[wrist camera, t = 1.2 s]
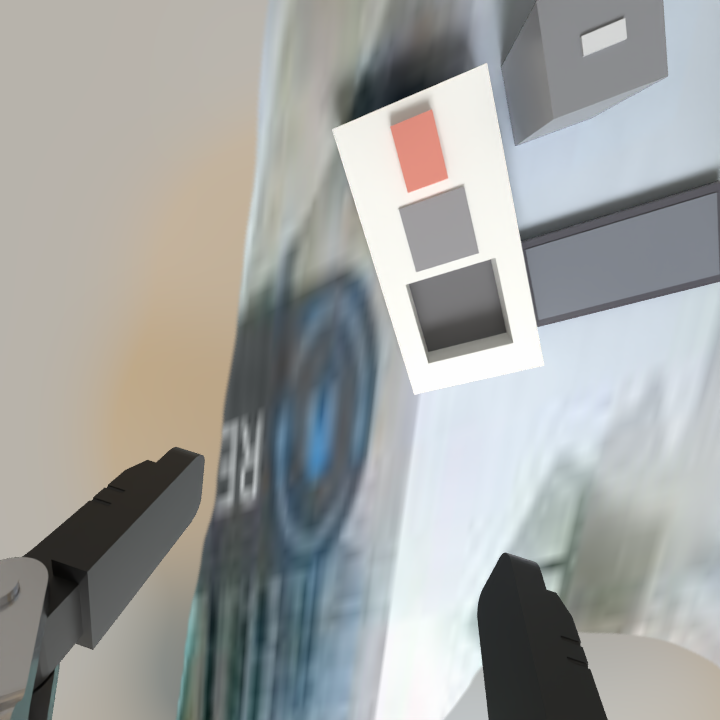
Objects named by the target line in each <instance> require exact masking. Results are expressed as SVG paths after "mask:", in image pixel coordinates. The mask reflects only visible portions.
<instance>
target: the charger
mask: <svg viewBox="0 0 720 720" xmlns="http://www.w3.org/2000/svg"><path fill="white" fill-rule="evenodd" d="M501 70H502V75H503V81H504V86H505V92H506V97H507V103H508V109H509V114H510V120H511V125H512V131H513V136H514V142H515V146H517V145H520V144H523V143H525V142H528V141H531V140H534V139H536V138H539V137H542V136H544V135H547V134H550V133H553V132H555V131H558V130H561V129H564V128H566V127H569V126H572V125H574V124H577V123H580V122H583V121H585V120H588V119H591V118H593V117H595V116H596V115H598V114H600V113H602V112H604V111H605V110H607V109H609V108H611V107H613V106H615V105H616V104H618V103H620V102H622V101H624V100H626V99H627V98H629V97H631V96H633V95H635V94H637V93H638V92H640V91H642V90H644V89H646V88H647V87H649V86H651V85H653V84H655V83H657V82H658V81H660V80H662V79H664V78H666V77H668V67H667V52H666V37H665V21H664V6H663V0H537V1H536V2H535V4H534V6H533V8H532V10H531V12H530V14H529V16H528V17H527V19H526V21H525V23H524V25H523V27H522V29H521V31H520V33H519V34H518V36H517V38H516V40H515V42H514V44H513V46H512V48H511V50H510V52H509V53H508V55H507V57H506V59H505V61H504V63H503V65H502V67H501Z"/></svg>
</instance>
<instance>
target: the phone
mask: <svg viewBox="0 0 720 720" xmlns="http://www.w3.org/2000/svg"><path fill="white" fill-rule="evenodd" d="M521 245H522V251H523V256H524V261H525V266H526V272H527V277H528V282H529V288H530V293H531V298H532V303H533V309H534V314H535V319H536V325H537V327H539V326H544V325H548V324H552V323H556V322H560V321H564V320H568V319H572V318H576V317H580V316H584V315H588V314H592V313H596V312H600V311H604V310H608V309H612V308H616V307H620V306H624V305H628V304H632V303H636V302H640V301H644V300H648V299H652V298H656V297H660V296H664V295H668V294H672V293H676V292H680V291H684V290H688V289H692V288H696V287H700V286H704V285H708V284H712V283H716V282H720V181H716V182H713V183H710V184H707V185H703V186H700V187H697V188H693V189H690V190H687V191H684V192H680V193H677V194H674V195H671V196H667V197H664V198H661V199H658V200H654V201H651V202H648V203H644V204H641V205H638V206H635V207H631V208H628V209H625V210H622V211H618V212H615V213H612V214H609V215H605V216H602V217H599V218H595V219H592V220H589V221H586V222H582V223H579V224H576V225H573V226H569V227H566V228H563V229H560V230H556V231H553V232H550V233H546V234H543V235H540V236H537V237H533V238H530V239H527V240H524V241H521Z"/></svg>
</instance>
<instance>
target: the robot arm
mask: <svg viewBox="0 0 720 720" xmlns="http://www.w3.org/2000/svg"><path fill="white" fill-rule="evenodd" d="M204 461H205V460H204V456H203V455H200V454H197V453H194V452H191V451H188V450H184V449H181V448H178V447H174V448H172V449H171V450H169V451H168V452H167V453H166V454H165V455H164V456H163V457H162V458H161V459H160V460H158V461H157V462H156V463H155V462H152V461H149V460H146V461H144V462H142V463H140V464H138V465H135V466H133V467H131V468H129V469H127V470H125V471H124V472H123V473H121V474H120V475H119V476H118V477H117V478H116V479H114V480H113V481H112V482H111V483H110V484H108V487H107V488H104V489H103V490H101V491H100V492H99V493H98V494H97V495H95V496H94V497H93V500H92V501H88V502H87V503H86V504H85V505H84V506H83V507H81V508H80V509H79V510H78V511H77V512H76V513H74V514H73V515H72V516H71V517H70V518H68V519H67V520H66V521H65V522H64V523H63V524H61V525H60V526H59V527H58V528H57V529H55V530H54V531H53V532H52V533H51V534H50V535H49V536H47V537H46V538H45V539H44V540H43V541H41V542H40V543H39V544H38V545H37V546H36V547H34V548H33V549H32V550H31V551H29V552H28V553H27V554H25V555H24V556H22V557H14V558H7V559H3V560H0V720H52V714H53V707H54V700H55V693H56V687H57V681H58V674H59V665H60V662H61V660H62V659H63V658H64V657H65V655H66V654H67V653H68V652H69V651H70V649H71V648H72V647H73V645H74V644H75V643H76V644H79V645H81V646H84V647H87V648H90V649H92V650H93V649H94V648H95V646H96V645H97V644H98V642H99V641H100V640H101V638H102V637H103V636H104V635H105V633H106V632H107V631H108V629H109V628H110V627H111V626H112V624H113V623H114V622H115V620H116V619H117V618H118V616H119V615H120V614H121V612H122V611H123V610H124V609H125V607H126V606H127V605H128V603H129V602H130V601H131V600H132V598H133V597H134V596H135V594H136V593H137V592H138V590H139V589H140V588H141V587H142V585H143V584H144V583H145V581H146V580H147V579H148V577H149V576H150V575H151V574H152V572H153V571H154V570H155V568H156V567H157V566H158V565H159V563H160V562H161V561H162V559H163V558H164V557H165V555H166V554H167V553H168V552H169V550H170V549H171V548H172V546H173V545H174V544H175V542H176V541H177V540H178V539H179V537H180V536H181V535H182V533H183V532H184V531H185V529H186V528H187V527H188V526H189V524H190V523H191V522H192V519H193V518H194V517H195V515H196V513H197V510H198V508H199V505H200V501H201V494H202V484H203V473H204ZM477 618H478V628H479V637H480V646H481V655H482V664H483V673H484V681H485V690H486V699H487V708H488V717H489V720H608V719H607V717H606V714H605V711H604V708H603V705H602V702H601V700H600V696H599V693H598V690H597V688H596V685H595V682H594V679H593V676H592V673H591V670H590V669H588V662H587V659H586V656H585V653H584V650H583V647H581V646H580V643H581V641H580V638H579V636H578V632H577V629H576V627H575V624H574V621H573V618H572V616H571V614H570V613H569V611H568V610H567V608H566V607H565V605H564V604H563V602H562V601H561V599H560V598H559V596H558V595H557V593H555V592H552V591H549V590H546V587H545V583H544V580H543V577H542V573H541V570H540V567H539V565H538V564H537V563H536V562H533V561H530V560H527V559H524V558H521V557H518V556H515V555H511V554H508V553H503V554H502V555H501V556H500V558H499V560H498V562H497V564H496V566H495V567H494V569H493V571H492V573H491V575H490V577H489V579H488V580H487V582H486V584H485V586H484V588H483V590H482V592H481V594H480V598H479V602H478V612H477Z"/></svg>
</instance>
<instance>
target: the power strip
mask: <svg viewBox="0 0 720 720" xmlns="http://www.w3.org/2000/svg"><path fill="white" fill-rule="evenodd" d="M332 130H333V134H334V137H335V140H336V143H337V147H338V150H339V153H340V156H341V159H342V163H343V166H344V169H345V172H346V176H347V179H348V182H349V185H350V189H351V192H352V195H353V198H354V201H355V205H356V208H357V211H358V214H359V218H360V221H361V224H362V227H363V230H364V234H365V237H366V240H367V243H368V247H369V250H370V253H371V256H372V260H373V263H374V266H375V269H376V272H377V276H378V279H379V282H380V285H381V289H382V292H383V295H384V298H385V301H386V305H387V308H388V311H389V314H390V318H391V321H392V324H393V327H394V331H395V334H396V337H397V340H398V343H399V347H400V350H401V353H402V356H403V360H404V363H405V366H406V369H407V372H408V376H409V379H410V382H411V385H412V389H413V392H414V395H415V394H419V393H424V392H428V391H432V390H437V389H441V388H446V387H450V386H455V385H459V384H464V383H468V382H473V381H477V380H482V379H486V378H491V377H495V376H499V375H504V374H508V373H513V372H517V371H522V370H526V369H531V368H535V367H540V366H544V362H543V356H542V351H541V346H540V340H539V335H538V330H537V325H536V319H535V314H534V309H533V303H532V298H531V293H530V288H529V282H528V277H527V272H526V266H525V261H524V256H523V251H522V245H521V240H520V235H519V229H518V224H517V219H516V214H515V208H514V203H513V198H512V192H511V187H510V182H509V177H508V171H507V166H506V161H505V155H504V150H503V145H502V140H501V134H500V129H499V124H498V118H497V113H496V108H495V102H494V97H493V92H492V87H491V81H490V76H489V71H488V65H487V63H486V64H483V65H481V66H479V67H476V68H474V69H472V70H469V71H467V72H465V73H462V74H460V75H458V76H455V77H453V78H451V79H448V80H446V81H444V82H441V83H439V84H437V85H434V86H432V87H430V88H427V89H425V90H423V91H420V92H418V93H416V94H413V95H411V96H409V97H406V98H404V99H402V100H399V101H397V102H395V103H392V104H390V105H388V106H385V107H383V108H381V109H378V110H376V111H374V112H371V113H369V114H367V115H364V116H362V117H360V118H357V119H355V120H353V121H350V122H348V123H346V124H343V125H341V126H339V127H336V128H334V129H332Z"/></svg>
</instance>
